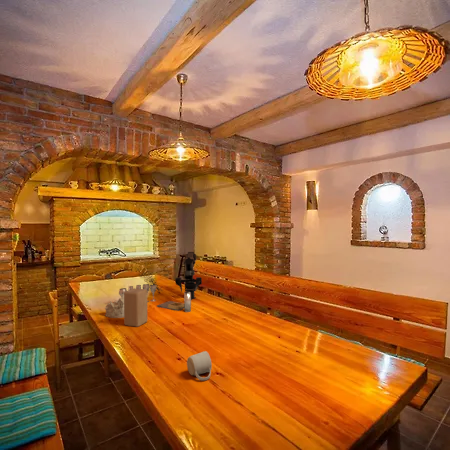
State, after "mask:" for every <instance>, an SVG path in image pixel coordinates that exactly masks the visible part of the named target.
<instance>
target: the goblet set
mask: <svg viewBox="0 0 450 450" xmlns="http://www.w3.org/2000/svg"><path fill="white" fill-rule="evenodd" d="M135 288H136V289H146V290H147V294H148V293H149V292H151V293H152V299H151V300H150V301H149V300H147V303H149V302H156V301H157V300H156V299H155V298H154V297H155V292H157V289H156V284H155V285H153V284H152V285H151V284H150V285H149V283H144V284H142V285H141V284H136V287H135ZM149 288H150V289H149ZM131 289H134V286H133V285H129V286H128V290H131ZM128 290H127V288H125V287H124V288H123V287H121V288H119V290H118V295H119V296H120V297H121V295H122V294H124V292H125V291H128ZM149 290H150V291H149Z"/></svg>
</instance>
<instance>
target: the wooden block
mask: <svg viewBox="0 0 450 450" xmlns="http://www.w3.org/2000/svg"><path fill="white" fill-rule="evenodd" d="M147 301H148V293H147V290H146V289H143V288H141V289H136V287H133V289H131V290H127V291H125V292H124V317H123V318H124V319H123V321H124V322H123V323H124V325H125V326H129V327H136V328H138V327H140V326H141V325H143V324H146V323H147V322H148V302H147Z"/></svg>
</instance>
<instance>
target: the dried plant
mask: <svg viewBox="0 0 450 450" xmlns="http://www.w3.org/2000/svg"><path fill="white" fill-rule="evenodd" d="M153 259H154V257H152V259H151V262H150V266H149V267H150V269H151V267H152V266H153V261H154V260H153ZM144 263H145V264H144V266H145V267H147V261H144ZM126 268H127V267H124V268H123V267H121V270H122V269H124V270H127V269H126ZM139 270H140V268H138V267H137V269H136V272H137V271H138V272H139V277H144V276H146V278H145V280H144V284H149V286H150V285H156V291H157V292H158V293H159V294H161V292H163V289H162V287H160V286H159V285H158V281H157V280H156V278H155V277H153V272H152V271H150V270H149V271H148V270H146V272H147V273H148V274H150V275H147V274H146V272H143V271H139ZM132 272H133V270H132V269H130V273H132ZM145 282H146V283H145ZM148 292H151V290H150V288H149V291H148Z"/></svg>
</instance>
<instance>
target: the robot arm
mask: <svg viewBox="0 0 450 450" xmlns="http://www.w3.org/2000/svg"><path fill="white" fill-rule="evenodd" d="M185 255H186V256H185V259H184V261H183V264H184V267H185V270H184V278H183V279H182V277H181V276H180V277H175V285H177V286H179V288H180V291H181V292H183V283H184V292H186V291H190V292H191V301H192V300H194V299H197V297H196V296H195V292H196V291H198V290H197V289H198V287H199V286H200V285H202V284H203V282H202V280H203V277H201V276H199V277H197V276H196V277H195V278H194V276H195V272H196V271H195V269H194V265H195V264H196V261H197V254H196V253H195V252H194V251H187V254H185Z"/></svg>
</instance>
